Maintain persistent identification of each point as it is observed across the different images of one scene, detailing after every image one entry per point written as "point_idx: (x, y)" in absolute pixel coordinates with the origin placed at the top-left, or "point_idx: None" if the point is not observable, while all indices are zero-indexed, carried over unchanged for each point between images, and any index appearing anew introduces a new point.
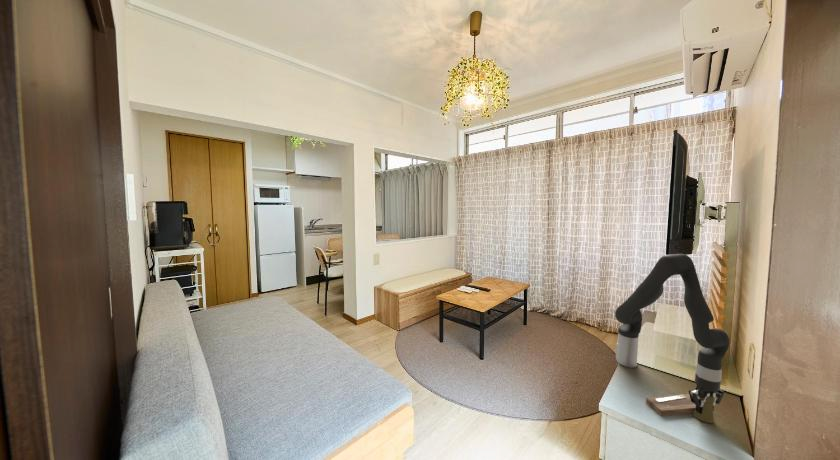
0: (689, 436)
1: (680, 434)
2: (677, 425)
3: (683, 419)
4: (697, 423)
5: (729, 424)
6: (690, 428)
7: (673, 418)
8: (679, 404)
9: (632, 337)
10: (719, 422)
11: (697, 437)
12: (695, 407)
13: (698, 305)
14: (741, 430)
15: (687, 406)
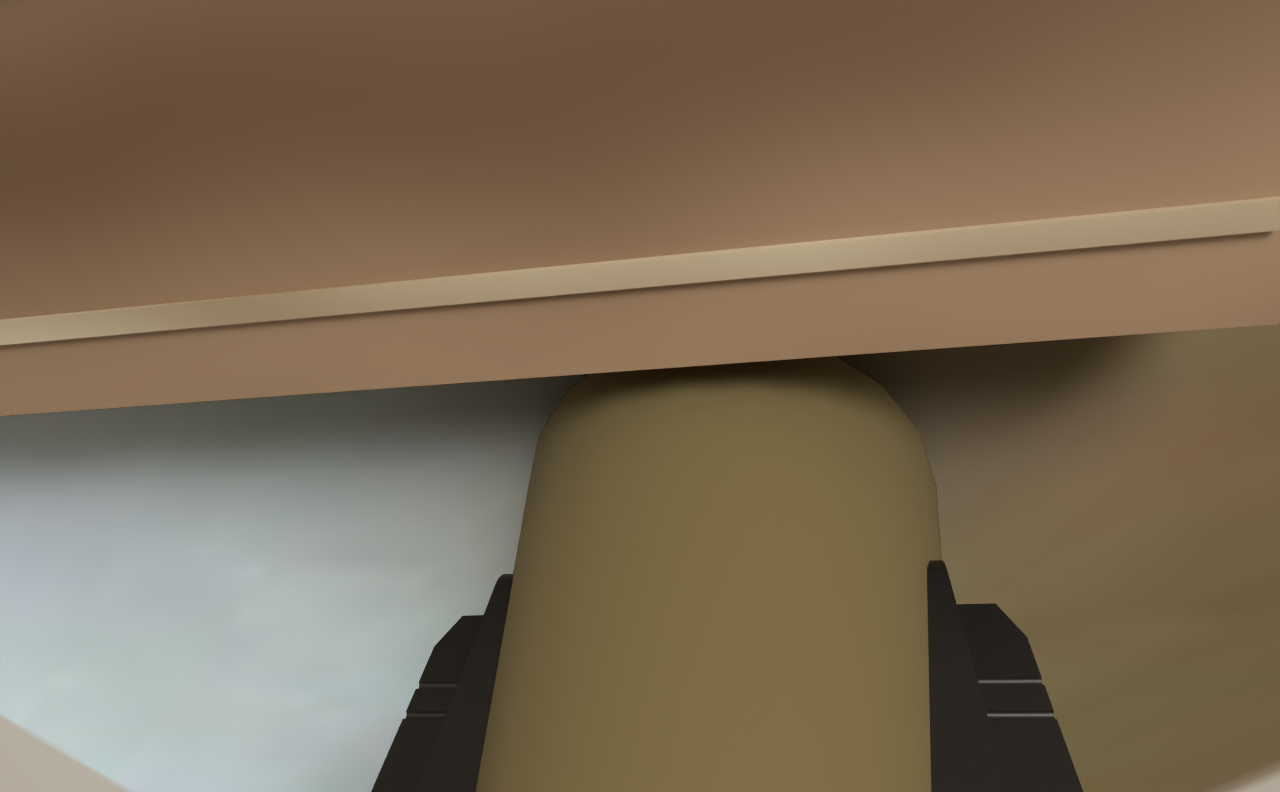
0: (156, 763)
1: (36, 727)
2: (56, 588)
3: (243, 469)
4: (474, 574)
5: (1187, 638)
6: (257, 655)
7: (42, 435)
8: (206, 202)
9: None
10: (1012, 581)
11: (267, 785)
12: (675, 359)
13: None
14: (1240, 763)
15: (432, 302)
